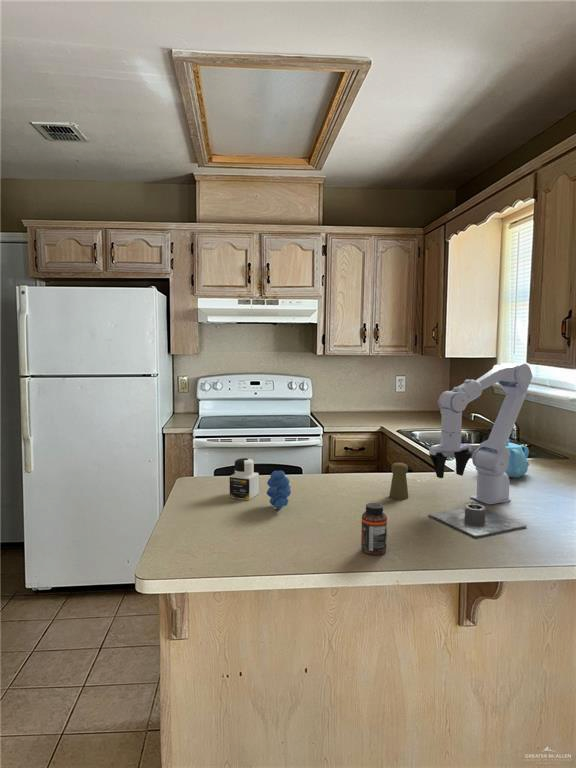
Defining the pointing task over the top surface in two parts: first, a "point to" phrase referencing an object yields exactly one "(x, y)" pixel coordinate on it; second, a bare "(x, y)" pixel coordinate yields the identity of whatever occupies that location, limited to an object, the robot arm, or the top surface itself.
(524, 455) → the decorative pot
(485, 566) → the top surface
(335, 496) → the top surface
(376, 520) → the supplement bottle
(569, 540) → the top surface
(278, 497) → the grapes
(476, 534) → the stand
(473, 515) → the ring
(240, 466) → the medicine bottle
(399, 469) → the cork
